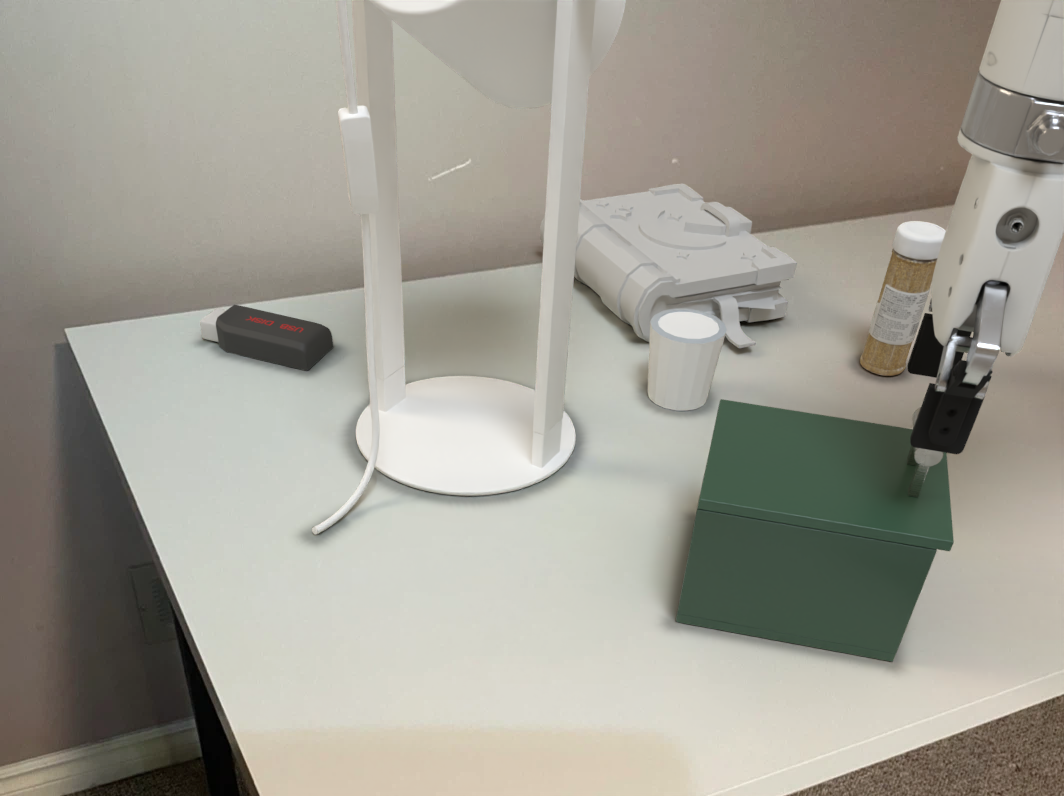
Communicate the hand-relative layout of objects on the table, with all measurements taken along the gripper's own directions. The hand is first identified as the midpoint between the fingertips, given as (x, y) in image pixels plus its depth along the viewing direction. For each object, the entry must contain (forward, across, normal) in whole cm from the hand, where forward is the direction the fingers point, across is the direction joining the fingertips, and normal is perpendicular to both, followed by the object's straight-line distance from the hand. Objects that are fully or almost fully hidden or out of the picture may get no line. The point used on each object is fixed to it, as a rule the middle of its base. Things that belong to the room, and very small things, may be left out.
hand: (932, 409), depth 70 cm
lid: (+6, 0, +5) cm, 8 cm away
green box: (+16, 0, +6) cm, 17 cm away
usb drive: (+17, +23, +58) cm, 64 cm away
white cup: (+16, +26, +18) cm, 35 cm away
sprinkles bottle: (+16, +38, -1) cm, 41 cm away
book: (+16, +47, +21) cm, 54 cm away
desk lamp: (+16, +10, +36) cm, 41 cm away
